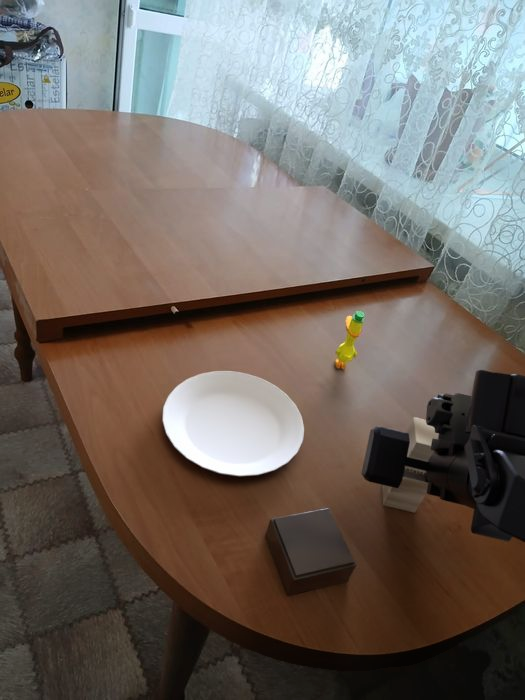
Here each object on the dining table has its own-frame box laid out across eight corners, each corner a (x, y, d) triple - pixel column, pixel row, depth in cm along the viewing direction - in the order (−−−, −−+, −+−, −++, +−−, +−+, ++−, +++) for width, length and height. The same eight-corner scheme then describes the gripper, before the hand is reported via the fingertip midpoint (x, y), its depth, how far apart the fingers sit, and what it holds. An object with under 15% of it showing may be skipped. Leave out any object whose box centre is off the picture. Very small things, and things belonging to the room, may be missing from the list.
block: (415, 512, 75) (452, 451, 67) (382, 505, 75) (416, 442, 67) (412, 486, 79) (447, 424, 71) (381, 479, 79) (413, 416, 71)
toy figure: (328, 351, 101) (346, 297, 93) (347, 354, 101) (366, 300, 94) (332, 375, 95) (352, 320, 88) (352, 378, 96) (373, 323, 88)
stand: (348, 581, 65) (357, 563, 63) (287, 596, 62) (294, 578, 60) (321, 524, 71) (329, 505, 68) (264, 535, 68) (270, 516, 65)
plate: (232, 513, 69) (235, 503, 68) (131, 418, 79) (132, 407, 77) (327, 438, 83) (331, 428, 82) (232, 364, 92) (234, 354, 91)
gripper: (579, 420, 55) (506, 419, 70) (400, 377, 55) (366, 386, 70) (562, 531, 53) (491, 505, 69) (378, 487, 53) (348, 471, 69)
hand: (424, 464), depth 69 cm, fingers open, 9 cm apart
